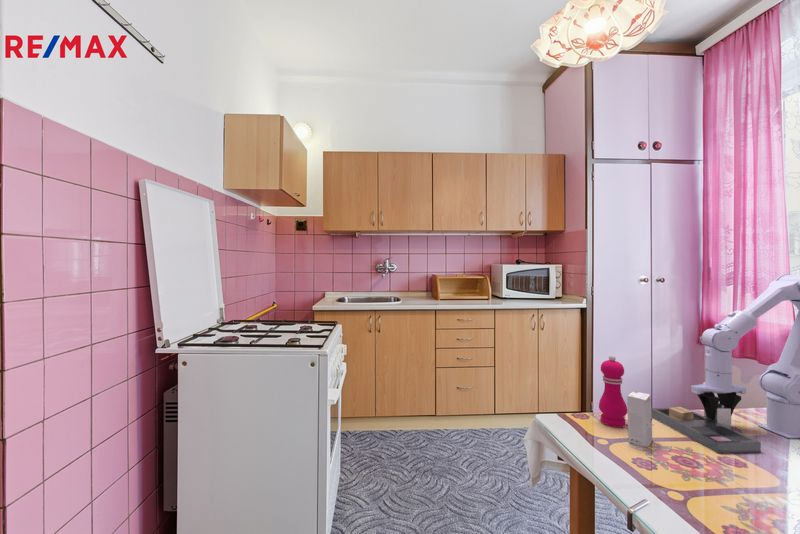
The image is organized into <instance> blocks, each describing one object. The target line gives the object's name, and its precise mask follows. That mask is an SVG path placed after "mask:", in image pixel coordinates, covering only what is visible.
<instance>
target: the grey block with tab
mask: <svg viewBox="0 0 800 534" xmlns="http://www.w3.org/2000/svg"><path fill="white" fill-rule="evenodd" d="M703 409H704V408H703ZM703 413H704V415H703V416H704V417H706V418H708V417H707V416H706V413H705V409H704V412H703ZM709 419H710V418H709ZM711 420H712V419H711ZM713 421H715V422H717V423H720V424H722V425H724V426H726V427H729V428H731V429H732V416H731V408H728V407H726V406H724V405H722V404H720V402H719V403H718V406H717V408H716V413H715V419H714V420H713Z"/></svg>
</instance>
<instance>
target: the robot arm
mask: <svg viewBox="0 0 800 534" xmlns="http://www.w3.org/2000/svg"><path fill="white" fill-rule="evenodd" d="M784 301H789V302H791V303H792V304H793V305H794V306H795V308H796V309H797V310H798V312H797V313H796V316H795V319H794V321H793V324H792V326H791V329H790V331H789V334H788V336H787V339H786V341H785V344H784V346H783V349H782V350H781V351H782V352H781V354H780V357H779V359H778V361H777V362H775V363H772V364H770V365H769V366H768V367H767V369H766V370H765V371H764V372H763V373H762V374H761V375H760V376H759V378H758V384H759V386H760V388H761V390H764V395H765V397H766V402H765V403H766V423H757V426H758V427H760V428H762V429H765V430H767V431H770V432H773V433H775V434H776V435H779V436H782V437H784V438H787V439H800V274H790V273H789V274H788V273H786V274H781V275H779V276H777V278H776V279H775V280H773V281H771V282H769V285H768V287H767V288H766V289H765V290H764V291H763V292H761V294H760V295H759V296H757V297H756V298H755V299H754V300H753V301H752V302H751V303H750V304H749V305H747V307H745V308H744V309H743V310H737V309H736V310H734V311H729V312H728V313H727V317H725V318H723V320H721V321H720V322H719V323H716V324H714V328H708V329H706V330H704V331H703V332H702V335H701V336H699V341H700V342H701V344H702V345H703V347H704V374H705V375H704V381H703V383H701V384H694V385H693V384H692V385H691V386H690V387H691V388H690V391H691V393H693V394H695V395H697V397H698V399H699V400H700V403H701V404H702V406H703V409H705V413H706V416H707V417H708V418H710V419H712V420H714V419H715V413H716V408H717V406H718V403H719V404H722V405H724V406H726V407H728V408H731V417H732V416H733V413H734V410H735V408H736V407H737V406H738V404H739V403H740V402H741V401H742V395H746V394H747V393H746V391H747V388H746V387H745V386H743V385H740V384H733V376H732V375H733V368H732V367H733V362H732V361H733V355H732V354H733V353H732V351H733V350H735V349H737V347H738V344H739V340H740V339H741V338H743V336H744V335H747V333H749V332H750V331H751V330H753V329H754V328H755V327H756V326H757V325H758V322H757V320H758V318H760V317H761V316H762V315H764V314H766V313H767V312H769V311H770V310H772V309H773V308H775V307H776V306H777V305H779V304H780V303H782V302H784ZM715 394H716V395H715ZM739 394H741V395H739Z"/></svg>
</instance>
